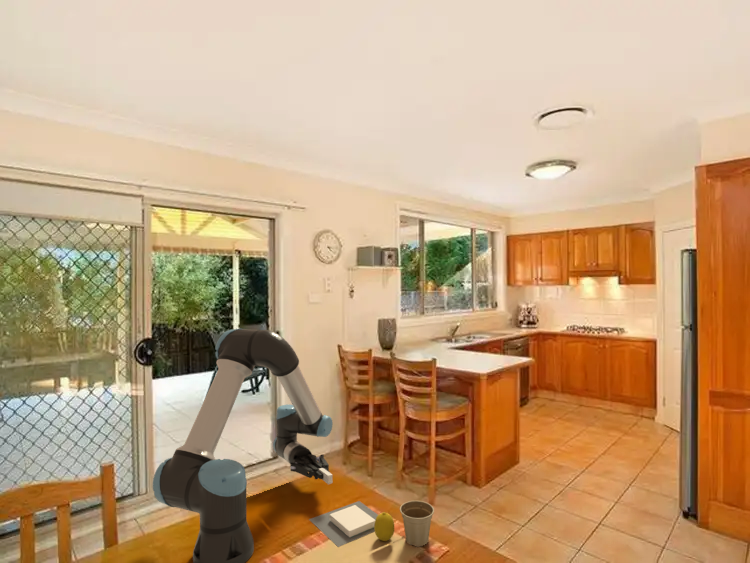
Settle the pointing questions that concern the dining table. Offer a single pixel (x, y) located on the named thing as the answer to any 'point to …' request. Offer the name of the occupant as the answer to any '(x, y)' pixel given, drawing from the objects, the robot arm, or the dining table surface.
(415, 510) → the flower pot
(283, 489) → the dining table surface
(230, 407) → the robot arm
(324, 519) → the mat
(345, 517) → the tile
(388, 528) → the lemon
